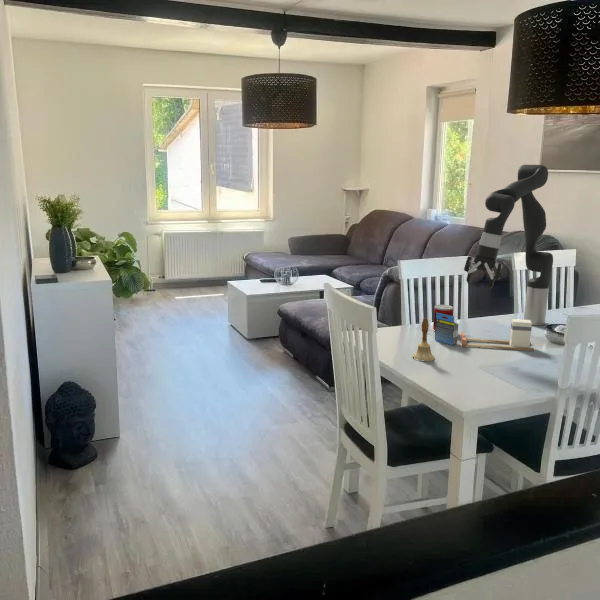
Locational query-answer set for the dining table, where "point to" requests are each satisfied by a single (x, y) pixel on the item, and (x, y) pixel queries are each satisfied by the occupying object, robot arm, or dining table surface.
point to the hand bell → (424, 345)
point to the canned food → (442, 312)
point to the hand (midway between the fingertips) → (478, 285)
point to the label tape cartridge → (446, 329)
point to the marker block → (520, 333)
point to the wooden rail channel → (464, 344)
